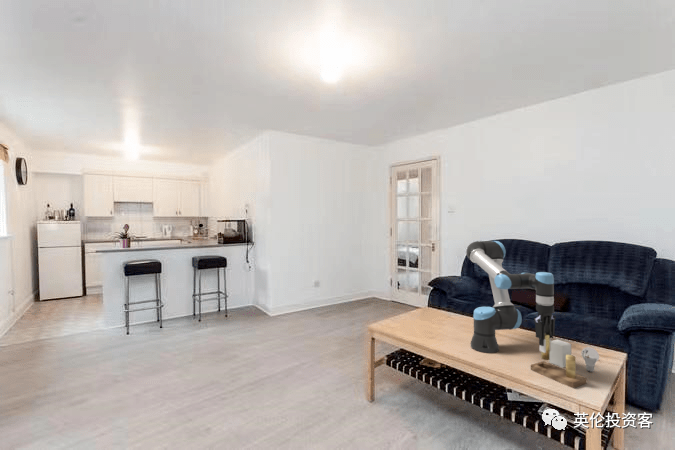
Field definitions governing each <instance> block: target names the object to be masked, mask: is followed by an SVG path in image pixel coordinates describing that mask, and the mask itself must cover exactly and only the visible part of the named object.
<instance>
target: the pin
mask: <svg viewBox="0 0 675 450" xmlns="http://www.w3.org/2000/svg"><path fill="white" fill-rule="evenodd" d="M545 339H546V353H544V352H541V351H540V358H541V360H543V361H549V360H550V336H549V334H545Z"/></svg>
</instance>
